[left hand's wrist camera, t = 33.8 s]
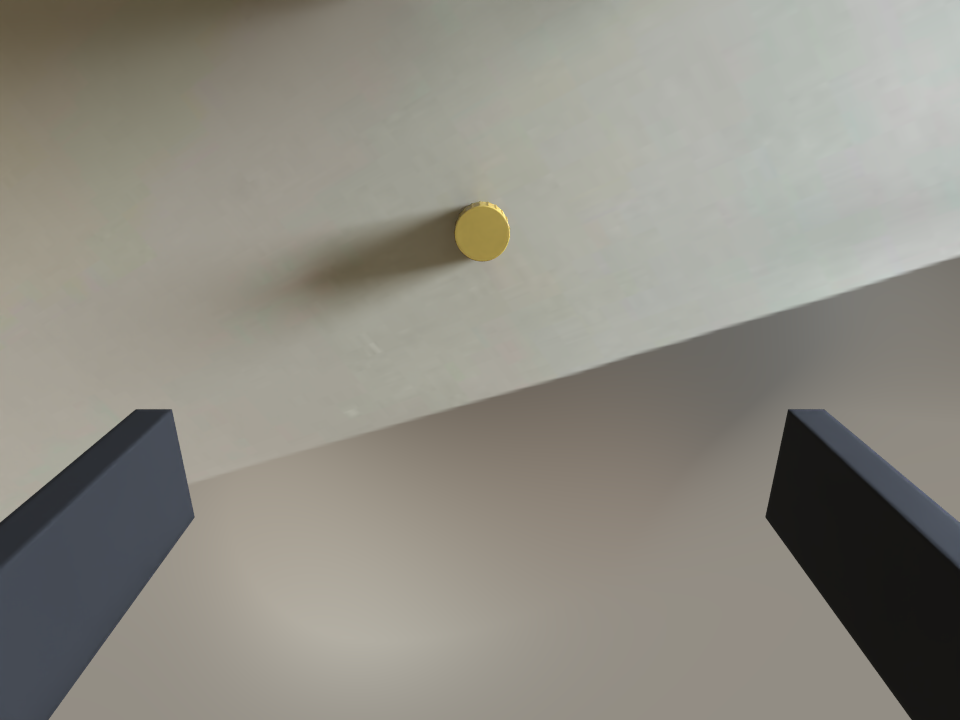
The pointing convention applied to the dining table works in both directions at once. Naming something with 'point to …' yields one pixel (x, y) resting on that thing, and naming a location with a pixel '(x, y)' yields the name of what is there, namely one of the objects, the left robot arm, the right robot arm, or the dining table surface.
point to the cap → (482, 231)
